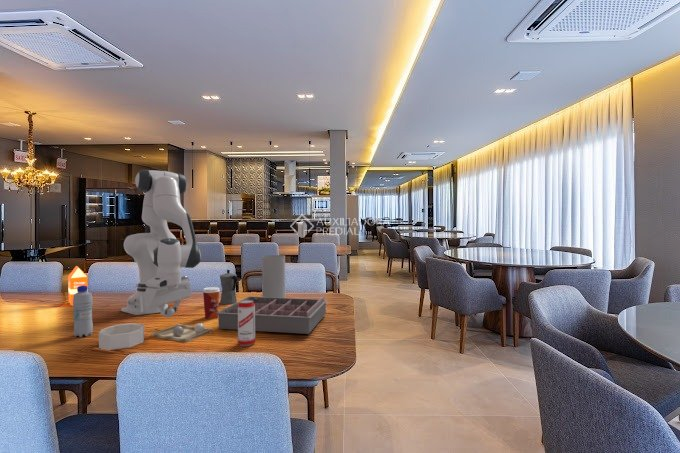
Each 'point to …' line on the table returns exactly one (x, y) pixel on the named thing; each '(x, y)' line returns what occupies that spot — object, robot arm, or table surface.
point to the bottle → (82, 312)
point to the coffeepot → (228, 288)
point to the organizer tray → (278, 314)
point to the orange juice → (76, 282)
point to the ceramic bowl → (121, 336)
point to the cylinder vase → (273, 276)
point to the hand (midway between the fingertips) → (169, 313)
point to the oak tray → (185, 337)
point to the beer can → (246, 322)
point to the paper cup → (211, 302)
